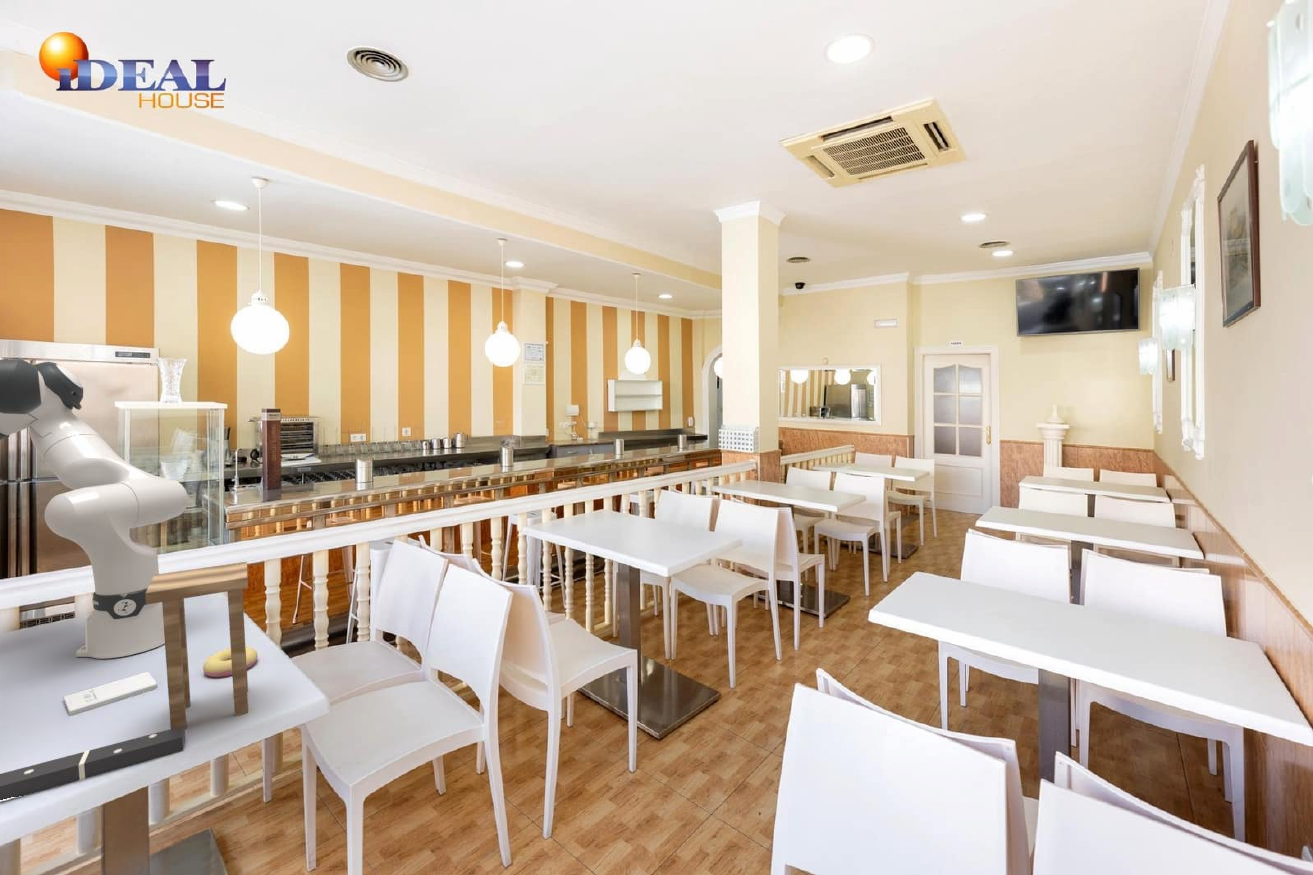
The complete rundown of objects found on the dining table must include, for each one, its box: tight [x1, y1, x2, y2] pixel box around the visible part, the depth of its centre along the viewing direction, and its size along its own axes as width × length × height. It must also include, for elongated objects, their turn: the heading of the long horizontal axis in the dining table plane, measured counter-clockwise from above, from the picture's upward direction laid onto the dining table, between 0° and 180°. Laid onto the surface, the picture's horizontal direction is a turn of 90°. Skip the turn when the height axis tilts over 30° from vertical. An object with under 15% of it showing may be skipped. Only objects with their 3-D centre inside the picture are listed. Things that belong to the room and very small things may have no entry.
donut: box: [202, 646, 259, 678], centre depth 122 cm, size 10×5×9 cm
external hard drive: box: [62, 671, 158, 717], centre depth 111 cm, size 2×8×12 cm
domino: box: [0, 725, 186, 800], centre depth 88 cm, size 4×24×3 cm, turn 126°
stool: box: [145, 561, 249, 730], centre depth 105 cm, size 12×14×26 cm
